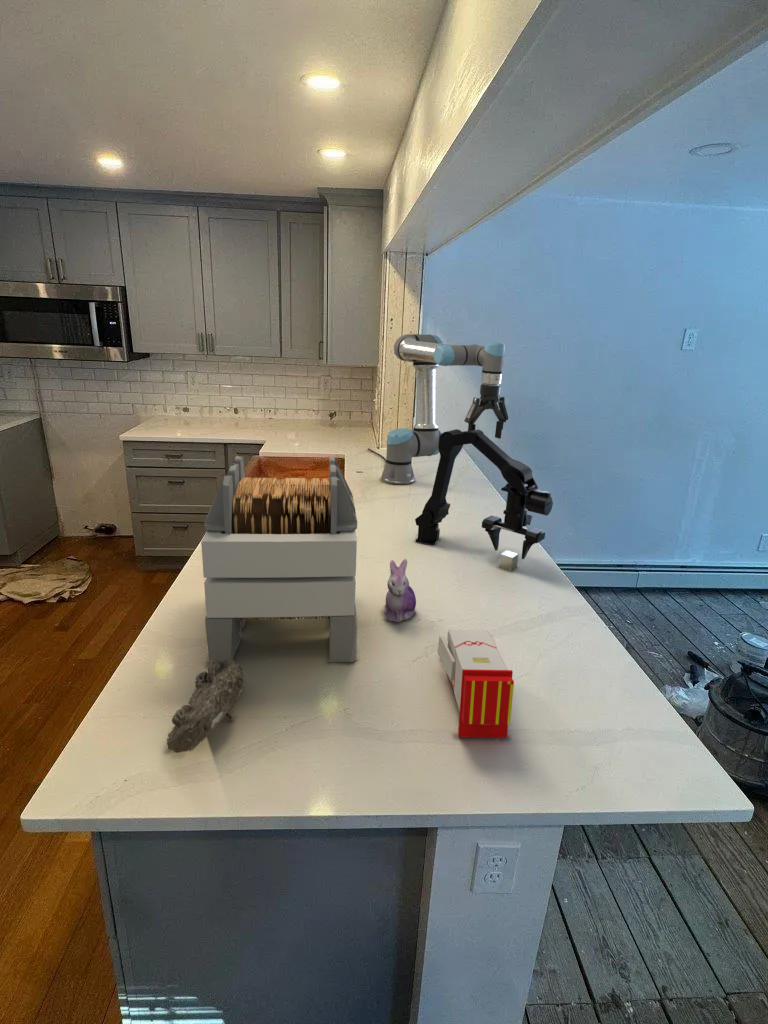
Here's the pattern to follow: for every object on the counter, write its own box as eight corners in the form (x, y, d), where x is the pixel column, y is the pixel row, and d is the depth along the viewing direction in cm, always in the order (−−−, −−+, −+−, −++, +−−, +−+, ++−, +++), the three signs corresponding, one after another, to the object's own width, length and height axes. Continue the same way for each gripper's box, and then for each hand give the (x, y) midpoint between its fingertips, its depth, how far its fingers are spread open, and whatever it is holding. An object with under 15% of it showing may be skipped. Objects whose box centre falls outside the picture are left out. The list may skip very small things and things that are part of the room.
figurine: (392, 627, 141) (395, 572, 136) (374, 608, 149) (376, 556, 144) (425, 619, 145) (429, 566, 140) (405, 601, 154) (408, 550, 149)
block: (510, 571, 175) (512, 557, 173) (498, 567, 177) (500, 554, 175) (516, 567, 178) (518, 553, 176) (505, 563, 180) (506, 550, 178)
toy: (488, 613, 130) (523, 677, 101) (484, 667, 133) (517, 744, 104) (435, 612, 130) (455, 676, 101) (432, 666, 133) (451, 743, 103)
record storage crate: (228, 592, 154) (220, 446, 140) (349, 591, 158) (352, 448, 144) (205, 667, 122) (192, 487, 109) (356, 663, 126) (362, 488, 112)
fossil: (192, 660, 117) (244, 628, 112) (224, 691, 120) (276, 661, 115) (142, 746, 98) (202, 712, 93) (182, 779, 101) (242, 748, 96)
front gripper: (555, 508, 171) (548, 555, 176) (500, 494, 182) (495, 539, 187) (540, 517, 163) (533, 566, 168) (483, 502, 174) (478, 548, 179)
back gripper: (471, 386, 206) (465, 443, 214) (521, 384, 218) (514, 438, 226) (458, 383, 212) (453, 439, 219) (508, 382, 224) (502, 434, 232)
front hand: (509, 554), depth 176 cm, fingers open, 9 cm apart
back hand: (484, 439), depth 223 cm, fingers open, 13 cm apart
